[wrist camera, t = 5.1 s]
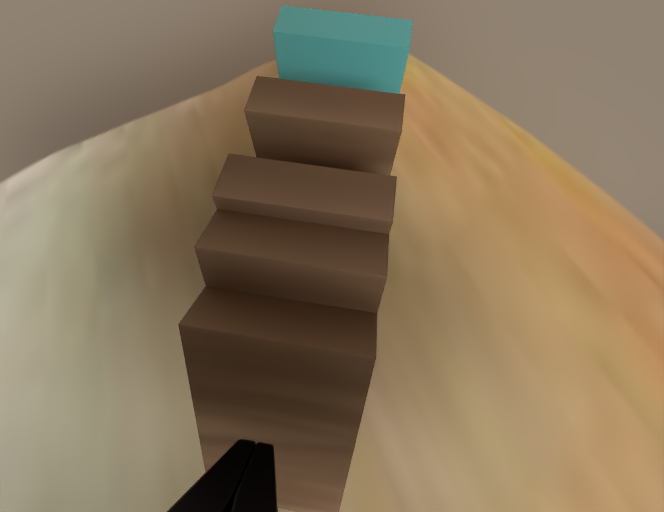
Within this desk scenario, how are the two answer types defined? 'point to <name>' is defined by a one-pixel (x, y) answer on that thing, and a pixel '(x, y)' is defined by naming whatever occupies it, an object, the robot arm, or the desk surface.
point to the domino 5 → (342, 48)
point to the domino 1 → (281, 386)
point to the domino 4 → (325, 124)
